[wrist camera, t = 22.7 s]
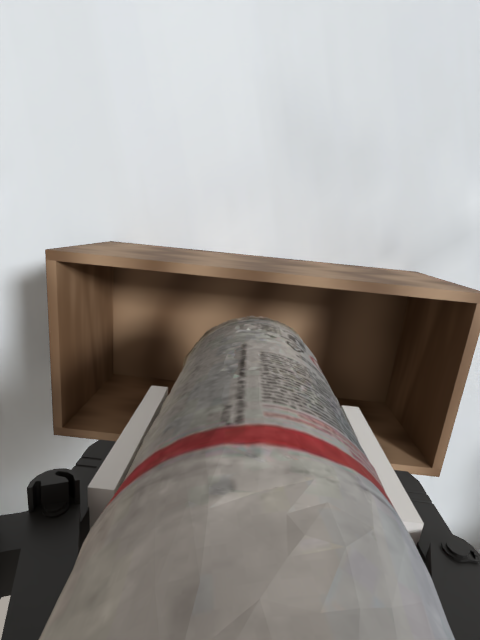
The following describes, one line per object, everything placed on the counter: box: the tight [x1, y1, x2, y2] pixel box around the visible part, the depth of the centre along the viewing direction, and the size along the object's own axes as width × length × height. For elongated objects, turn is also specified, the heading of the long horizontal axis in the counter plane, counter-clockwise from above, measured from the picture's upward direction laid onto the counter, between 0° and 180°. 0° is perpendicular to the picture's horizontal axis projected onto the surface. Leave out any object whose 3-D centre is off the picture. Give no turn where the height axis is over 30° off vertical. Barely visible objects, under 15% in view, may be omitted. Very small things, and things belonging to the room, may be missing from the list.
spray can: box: [39, 316, 455, 640], centre depth 12 cm, size 8×8×20 cm
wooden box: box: [45, 241, 480, 477], centre depth 27 cm, size 26×12×10 cm, turn 85°
